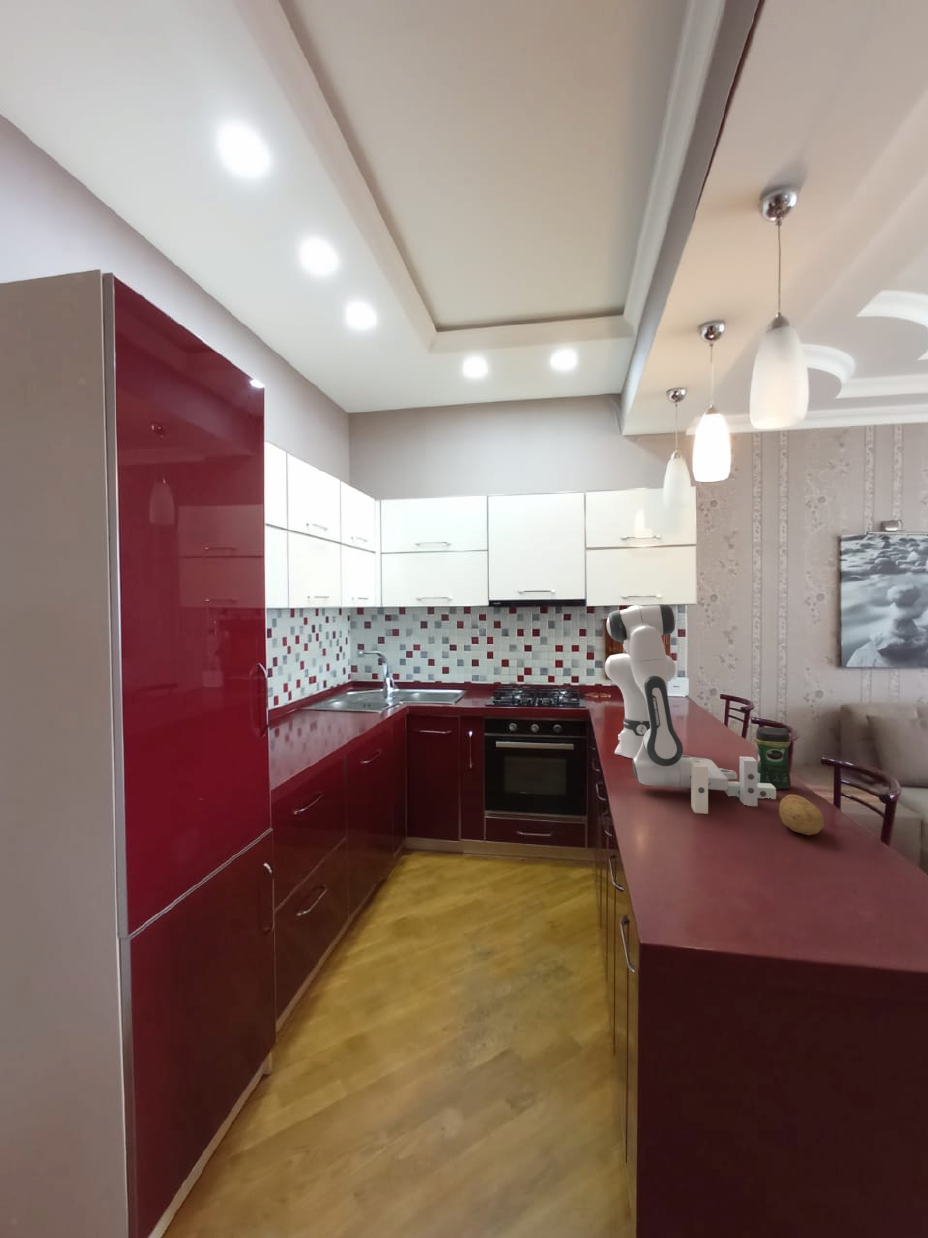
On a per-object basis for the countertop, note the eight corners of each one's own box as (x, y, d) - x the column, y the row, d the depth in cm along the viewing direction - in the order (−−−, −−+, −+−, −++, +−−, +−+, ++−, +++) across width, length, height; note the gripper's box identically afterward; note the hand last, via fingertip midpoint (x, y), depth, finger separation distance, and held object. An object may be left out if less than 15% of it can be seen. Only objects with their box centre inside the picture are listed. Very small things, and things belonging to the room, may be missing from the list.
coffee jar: (787, 783, 175) (787, 726, 174) (793, 791, 167) (793, 731, 167) (753, 780, 178) (753, 724, 178) (757, 788, 171) (757, 729, 170)
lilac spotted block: (739, 800, 161) (739, 756, 161) (752, 800, 160) (752, 756, 160) (744, 805, 156) (744, 761, 156) (757, 806, 156) (757, 761, 155)
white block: (724, 781, 168) (771, 783, 166) (724, 792, 169) (770, 795, 166) (728, 786, 164) (776, 788, 161) (728, 797, 164) (776, 800, 161)
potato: (789, 842, 133) (789, 809, 133) (771, 819, 146) (771, 790, 146) (834, 845, 130) (834, 812, 130) (812, 822, 144) (812, 792, 144)
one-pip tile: (691, 807, 156) (691, 762, 156) (704, 807, 156) (704, 762, 155) (694, 813, 152) (694, 766, 151) (708, 814, 151) (708, 767, 151)
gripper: (694, 773, 158) (746, 775, 155) (681, 753, 178) (726, 755, 175) (694, 794, 158) (746, 797, 155) (681, 772, 178) (726, 774, 175)
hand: (735, 774), depth 166 cm, fingers closed
